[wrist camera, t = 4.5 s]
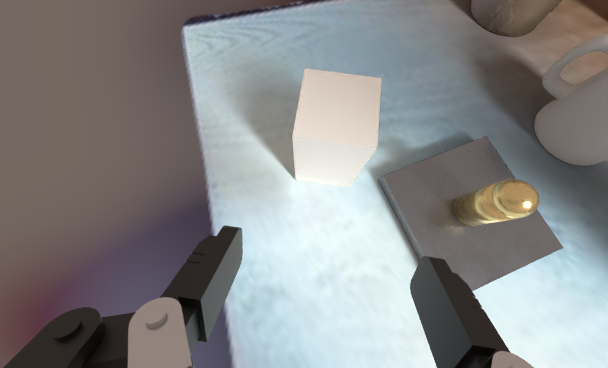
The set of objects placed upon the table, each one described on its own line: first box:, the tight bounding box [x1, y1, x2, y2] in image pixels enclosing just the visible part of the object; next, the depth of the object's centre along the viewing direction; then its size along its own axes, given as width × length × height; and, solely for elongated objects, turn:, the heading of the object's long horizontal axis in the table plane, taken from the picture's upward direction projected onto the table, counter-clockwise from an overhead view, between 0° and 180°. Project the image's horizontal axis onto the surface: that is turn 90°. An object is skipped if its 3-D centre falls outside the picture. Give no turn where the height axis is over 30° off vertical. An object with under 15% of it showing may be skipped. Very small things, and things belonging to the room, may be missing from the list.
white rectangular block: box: [292, 68, 382, 188], centre depth 22 cm, size 6×6×10 cm
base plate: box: [378, 136, 563, 291], centre depth 21 cm, size 13×13×8 cm
